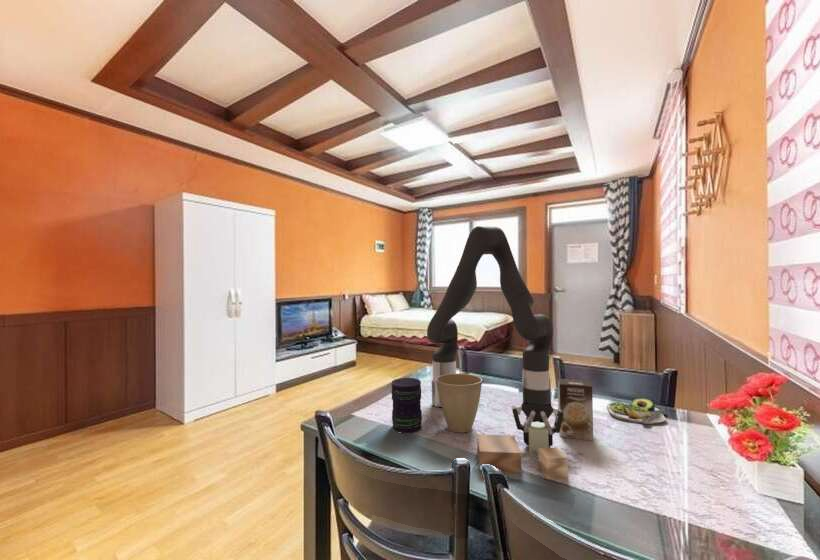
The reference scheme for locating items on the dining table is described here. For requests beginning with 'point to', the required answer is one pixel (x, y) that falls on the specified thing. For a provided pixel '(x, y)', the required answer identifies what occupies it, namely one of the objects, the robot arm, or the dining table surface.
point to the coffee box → (576, 409)
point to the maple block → (553, 463)
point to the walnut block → (499, 452)
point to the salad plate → (637, 411)
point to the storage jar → (406, 405)
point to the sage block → (538, 436)
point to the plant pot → (459, 399)
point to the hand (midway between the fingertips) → (538, 445)
